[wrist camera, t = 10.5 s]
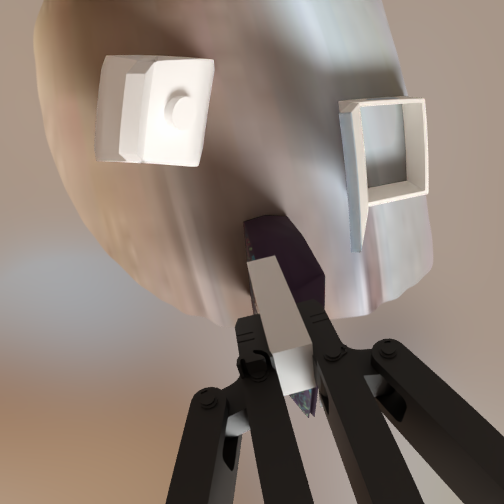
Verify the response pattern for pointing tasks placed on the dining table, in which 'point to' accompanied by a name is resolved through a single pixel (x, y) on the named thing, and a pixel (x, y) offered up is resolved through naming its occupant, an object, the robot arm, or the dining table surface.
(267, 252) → the decorative box
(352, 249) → the lid
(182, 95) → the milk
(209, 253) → the dining table surface
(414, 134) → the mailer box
